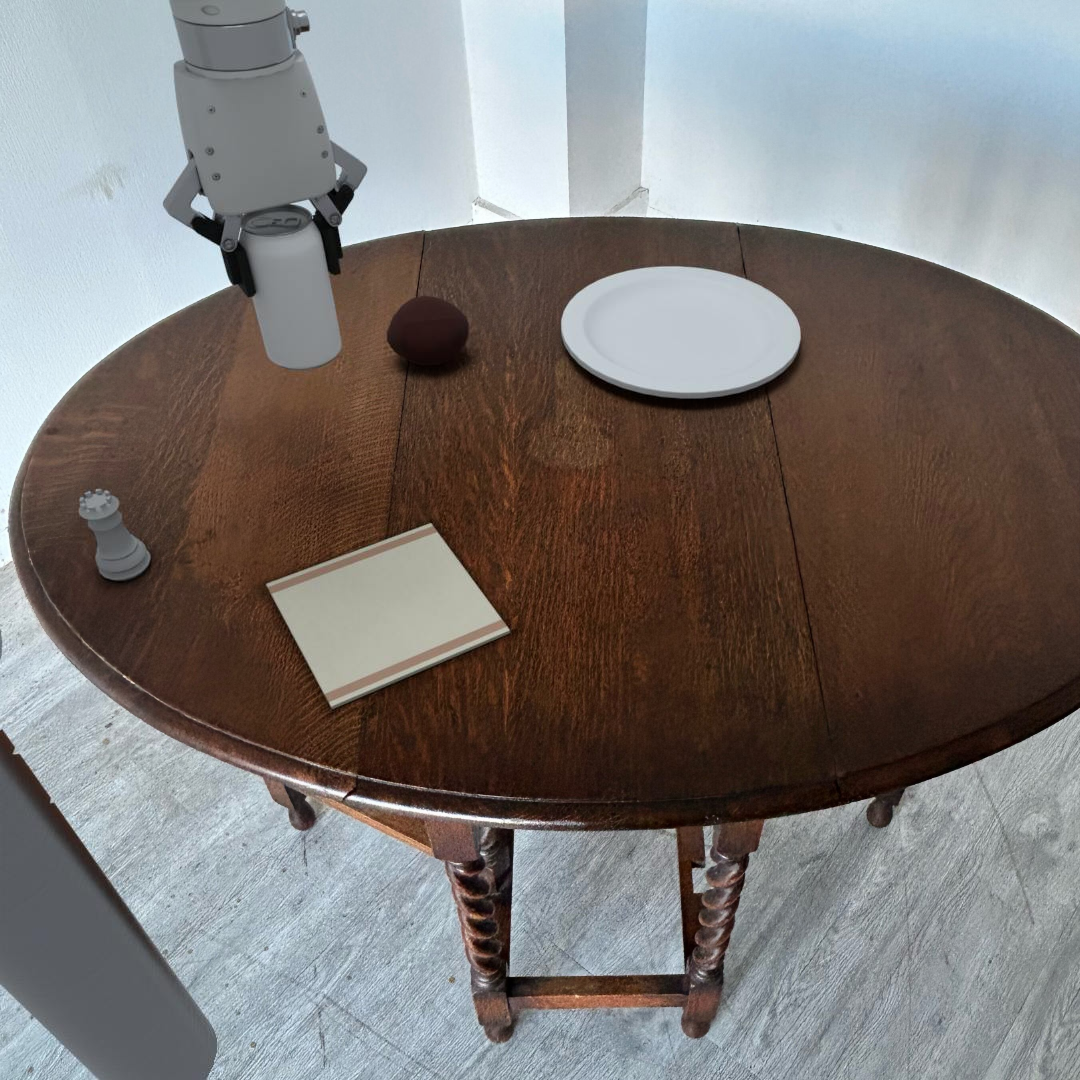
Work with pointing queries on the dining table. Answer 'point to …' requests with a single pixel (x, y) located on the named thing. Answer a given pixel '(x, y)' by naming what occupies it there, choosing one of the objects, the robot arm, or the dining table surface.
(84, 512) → the rook chess piece
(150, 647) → the dining table surface
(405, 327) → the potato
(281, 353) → the can
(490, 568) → the dining table surface
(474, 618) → the napkin
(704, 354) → the plate
